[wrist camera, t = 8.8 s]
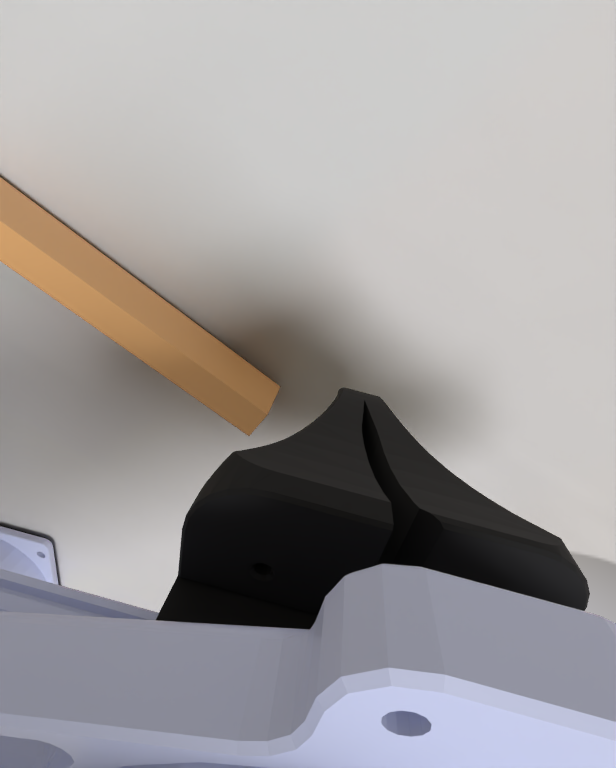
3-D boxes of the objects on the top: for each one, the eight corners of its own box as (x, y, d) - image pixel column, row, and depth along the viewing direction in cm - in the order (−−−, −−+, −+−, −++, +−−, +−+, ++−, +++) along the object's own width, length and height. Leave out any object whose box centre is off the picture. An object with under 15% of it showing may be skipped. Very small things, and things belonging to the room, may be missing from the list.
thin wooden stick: (282, 383, 15) (264, 423, 12) (263, 405, 15) (241, 449, 12) (-65, 122, 12) (-199, 91, 9) (-72, 160, 13) (-200, 142, 10)
